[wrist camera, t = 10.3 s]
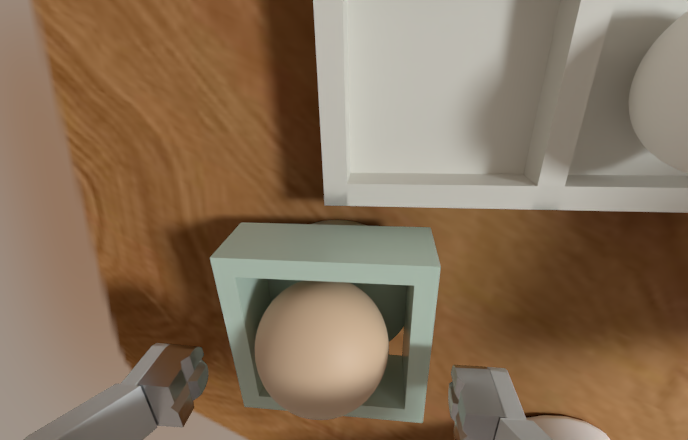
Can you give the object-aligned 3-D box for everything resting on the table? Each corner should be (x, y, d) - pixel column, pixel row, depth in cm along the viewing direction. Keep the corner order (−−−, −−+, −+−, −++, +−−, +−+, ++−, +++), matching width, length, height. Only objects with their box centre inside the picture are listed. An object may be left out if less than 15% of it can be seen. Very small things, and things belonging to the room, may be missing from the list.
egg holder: (414, 342, 16) (422, 423, 13) (274, 333, 17) (244, 406, 13) (426, 210, 13) (440, 267, 10) (254, 206, 14) (209, 257, 10)
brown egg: (391, 350, 14) (379, 466, 10) (289, 336, 15) (241, 437, 11) (395, 258, 12) (383, 356, 8) (278, 248, 13) (214, 331, 9)
